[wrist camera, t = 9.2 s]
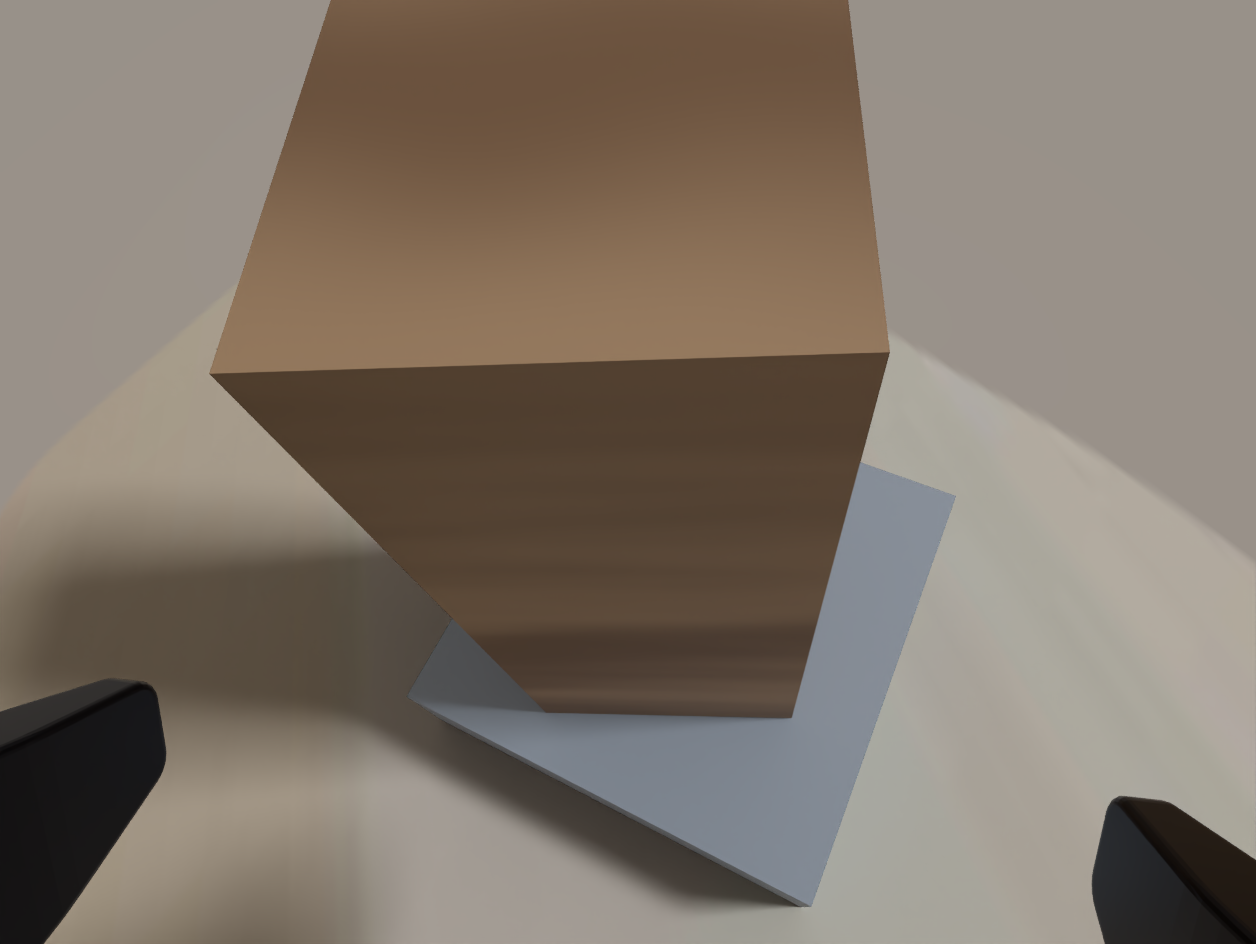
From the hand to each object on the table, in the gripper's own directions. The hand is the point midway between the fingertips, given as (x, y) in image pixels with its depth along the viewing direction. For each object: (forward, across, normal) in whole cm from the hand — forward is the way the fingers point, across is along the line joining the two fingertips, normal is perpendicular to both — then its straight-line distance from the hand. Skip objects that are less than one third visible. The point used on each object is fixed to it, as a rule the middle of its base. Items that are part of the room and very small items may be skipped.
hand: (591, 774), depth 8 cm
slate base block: (+12, 0, +5) cm, 13 cm away
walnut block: (+10, 0, +3) cm, 10 cm away
